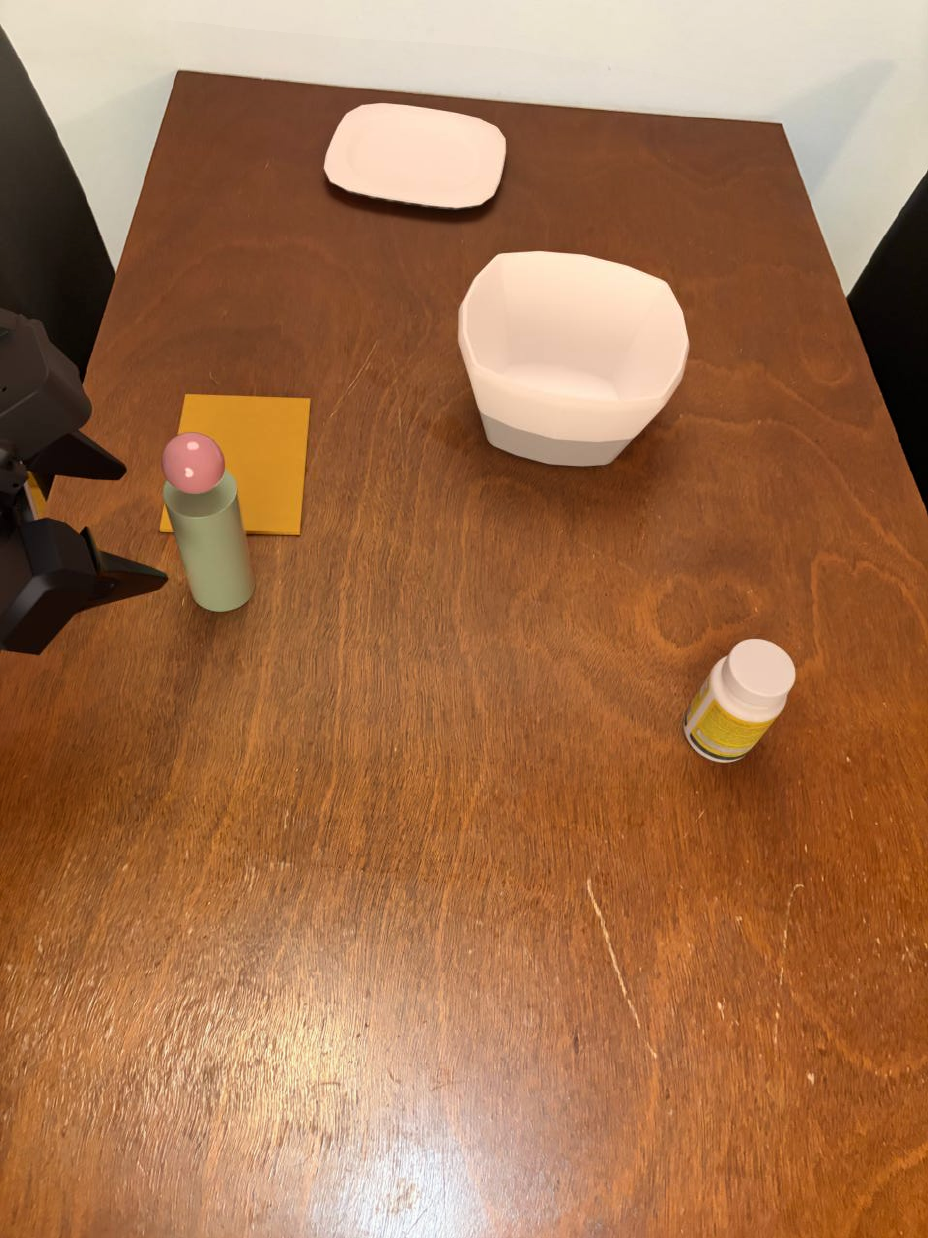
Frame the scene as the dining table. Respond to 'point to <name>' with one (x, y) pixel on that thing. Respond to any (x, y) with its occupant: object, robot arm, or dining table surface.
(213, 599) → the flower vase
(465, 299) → the bowl
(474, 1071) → the dining table surface
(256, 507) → the cloth
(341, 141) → the plate
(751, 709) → the supplement bottle
